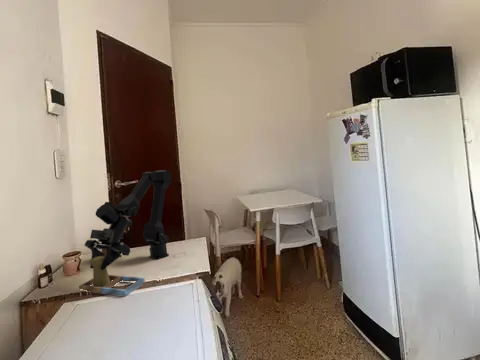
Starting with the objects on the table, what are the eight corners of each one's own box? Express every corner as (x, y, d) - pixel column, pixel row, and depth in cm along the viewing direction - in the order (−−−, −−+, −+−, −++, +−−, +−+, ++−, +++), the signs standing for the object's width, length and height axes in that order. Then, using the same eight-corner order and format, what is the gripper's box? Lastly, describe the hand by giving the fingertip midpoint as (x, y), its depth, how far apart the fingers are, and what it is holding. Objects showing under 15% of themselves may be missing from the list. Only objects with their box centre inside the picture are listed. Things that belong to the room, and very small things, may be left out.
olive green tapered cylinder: (104, 289, 121) (100, 259, 119) (89, 289, 122) (85, 260, 121) (114, 282, 127) (110, 254, 125) (99, 282, 128) (95, 254, 126)
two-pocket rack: (79, 291, 121) (78, 285, 121) (101, 279, 131) (101, 274, 131) (125, 296, 114) (124, 290, 113) (145, 283, 123) (144, 277, 123)
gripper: (85, 219, 129) (62, 257, 121) (120, 220, 120) (98, 261, 112) (104, 233, 137) (85, 269, 129) (138, 235, 128) (120, 275, 120)
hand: (96, 268), depth 122 cm, fingers closed on olive green tapered cylinder, 5 cm apart
